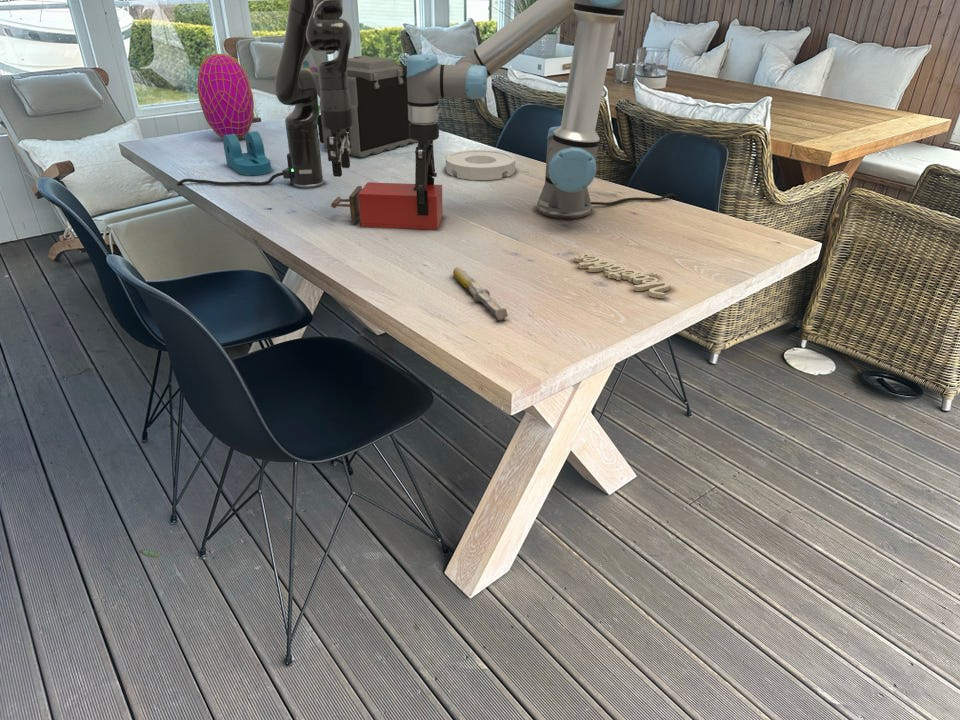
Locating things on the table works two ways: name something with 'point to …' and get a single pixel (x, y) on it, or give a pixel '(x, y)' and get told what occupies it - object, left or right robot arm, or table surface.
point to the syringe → (479, 293)
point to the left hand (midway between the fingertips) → (342, 171)
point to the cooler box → (374, 105)
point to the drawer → (353, 204)
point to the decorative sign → (625, 274)
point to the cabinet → (398, 206)
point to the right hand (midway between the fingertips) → (426, 208)
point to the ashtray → (480, 164)
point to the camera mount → (246, 154)
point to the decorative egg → (225, 95)
